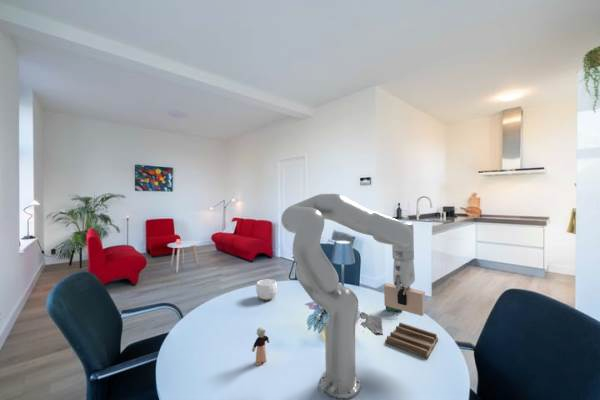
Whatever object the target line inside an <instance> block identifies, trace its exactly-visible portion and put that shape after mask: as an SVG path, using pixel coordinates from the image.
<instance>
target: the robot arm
mask: <svg viewBox="0 0 600 400" xmlns="http://www.w3.org/2000/svg"><path fill="white" fill-rule="evenodd" d="M280 219H281V224H282V227H283V228H284V229H285V230H286V231H288V232H289V233H293V234H294V236H293V242H292V256H293V258H294V260H295V262H296V265H295V276H296V278H297V281H298V283H299V284H300V285H301V287H302V288H303V289H304V291H305V292H306V293H307V295H308V296H309V298H310V299H311V300H312V301H313V302H314V303H315V304H316V305H317V306H319V307H320V308H322V309H323V310H325V312H327V313H328V315H329V316H328V319H327V321H326V324H325V326H324V327H325V328H324V339H325V342H324V343H325V345H324V346H325V347H324V348H325V353H324V354H325V356H324V357H325V358H324V359H325V371H323V373H322V374H321V377H320V384H319V385H318V387H317V391H318V392H319V394H323V393H326V394H328V395H330V396H332V397H333V396H334V397H333V398H336V397H337V399H342V398H345V399H350V397H351V398H353V397H355V396H356V395H357V394H358V393H359V392H360V390H361V387H362V386H361V379H360V377H359V375H358V374H356V322H357V316H358V310H359V299H358V297H357V295H356V294H355V292H354V291H353V290H352V289H350V288H348V287H347V286H344V285H342V284H341V283H339V282H340V279H339V274H338V272H337V270H336V268H335V266H334V265H333V263H331V261H330V259H329V257H327V255H326V252H324V250H323V248H322V245H321V239H322V235H323V231H324V229H325V220H330V221H332V222H334V223H337V224H339V225H342V226H343V227H346V228H349V229H350V230H352V231H354V232H356V233H359V234H362V235H363V234H364V235H367V236H372V238H373V240H375V241H376V242H378V243H380V244H385V245H391V247H392V252H391V253H392V254H391V255H392V259H393V273H392V274H393V275H392V276H393V278H392V279H393V285H395V286H396V288H395V290H396V291H397V298H398V304H402V305H407V295H406V288H411V286H412V285H413V284H414V282H415V280H416V278H415V277H416V275H415V263H414V261H415V248H414V247H415V245H414V244H415V243H414V242H415V241H414V239H415V238H414V233H415V232H414V224H413V223H412V222H411V221H410V222H409V221H404V220H403V221H400V220H398V219H396V218H393V217H391V216H388V215H385V214H382V213H380V212H377V211H376V210H372V209H369V208H367V207H364V206H363V205H361V204H359V203H357V202H356V201H353V200H352V199H349V198H348V197H346V196H344V195H342V194H339V193H320V194H317V195H314V196H311V197H309V198H307V199H304V200H302V201H298V202H297V203H295V204H293V205H290V206H289V207H287V208H286V209H284V211H283V213H282V214H281V218H280ZM400 287H401V288H403V289H401V288H400Z"/></svg>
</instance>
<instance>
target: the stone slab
mask: <svg viewBox="0 0 600 400" xmlns="http://www.w3.org/2000/svg"><path fill="white" fill-rule="evenodd" d="M368 315H369V314H367V313H366V312H360V320H365V321H362V322H361V323H360V324H359V325H360V326H362V327H363V328H364V329H366V328H367V329H368V330H369V331H371V334H374V335H375V334H378V333H379V334H380V335H382V336H383V333H384V332H383V323H382V319H381V317H379V316H373V315H369V316H368ZM362 332H363V333H364V332H365V331H364V330H363V331H362Z"/></svg>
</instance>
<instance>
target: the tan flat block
mask: <svg viewBox="0 0 600 400" xmlns="http://www.w3.org/2000/svg"><path fill="white" fill-rule="evenodd" d="M383 287H384V288H383V295H384V296H383V297H384V300H383V302H384V306H385V307H386V306H388V307H392V308H395V309H399V310H402V312H406V313H409V314H413V315H417V316H420V317H423V316H424V315H425V314H426V301H425V300H426V299H425V298H426V297H425V291H424V290H420V289H415V288H411V287H410V288H406V295H407V305H402V304H398V298H397V291H396V290H395V288H396V286H395V285H394V283H388V282H386V284H384V285H383ZM400 288H401V287H400ZM401 289H403V288H401Z"/></svg>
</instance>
